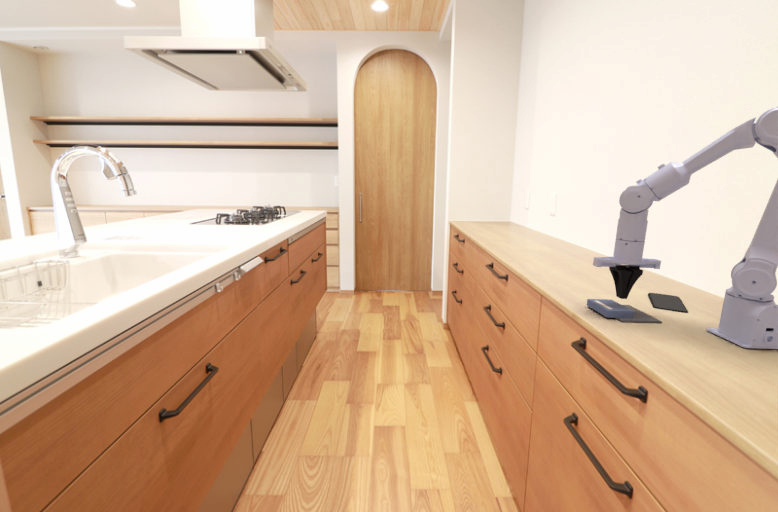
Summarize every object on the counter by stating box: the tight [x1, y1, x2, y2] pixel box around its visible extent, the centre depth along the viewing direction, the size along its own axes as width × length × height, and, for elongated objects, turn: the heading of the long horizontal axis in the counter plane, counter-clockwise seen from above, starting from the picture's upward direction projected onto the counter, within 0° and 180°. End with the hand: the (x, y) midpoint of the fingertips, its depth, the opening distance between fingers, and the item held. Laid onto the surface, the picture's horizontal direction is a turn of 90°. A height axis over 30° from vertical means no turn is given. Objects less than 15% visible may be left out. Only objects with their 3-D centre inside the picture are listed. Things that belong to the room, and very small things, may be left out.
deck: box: [586, 298, 634, 319], centre depth 94 cm, size 9×2×6 cm
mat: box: [614, 304, 663, 324], centre depth 94 cm, size 12×9×1 cm
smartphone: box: [647, 292, 689, 314], centre depth 105 cm, size 7×1×15 cm
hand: (621, 297), depth 94 cm, fingers closed
